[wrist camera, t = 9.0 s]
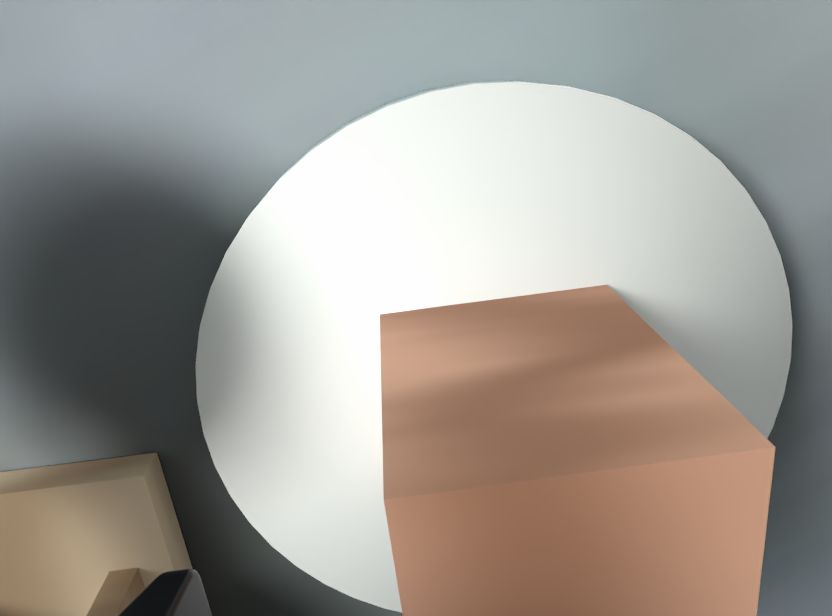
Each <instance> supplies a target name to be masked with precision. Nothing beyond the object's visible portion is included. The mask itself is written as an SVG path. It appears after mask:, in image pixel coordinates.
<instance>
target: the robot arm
mask: <svg viewBox="0 0 832 616" xmlns="http://www.w3.org/2000/svg"><path fill="white" fill-rule="evenodd" d="M118 616H212V614H211V611H210V607H209V604H208V601H207V597H206V594H205V591H204V587H203V584H202V581H201V578H200V575H199V574H198V572H197V571H196V570H194V569H183V570H175V571H167V572H164V573H162V574H160V575H159V576H158V577H156V578H155V579H154V580H153V581H152V582H151V583H150V584H149V585H148V586H147V587H146V588H145V589H144V590H143V591H142V592H141V593H140V594H139V595H138V596H137V597H136V598H135V599H134V600H133V601H132V602H131V603H130V604H129V605H128V606H127V607H126V608H125V609H124V610H123V611H122V612H121V613H120V614H119V615H118Z"/></svg>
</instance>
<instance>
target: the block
mask: <svg viewBox="0 0 832 616" xmlns="http://www.w3.org/2000/svg"><path fill="white" fill-rule="evenodd" d="M380 351H381V398H382V445H383V493H384V505H385V511H386V517H387V523H388V529H389V535H390V541H391V548H392V554H393V560H394V566H395V572H396V578H397V584H398V590H399V596H400V602H401V608H402V614H403V616H757V607H758V598H759V590H760V581H761V572H762V563H763V554H764V545H765V536H766V527H767V518H768V509H769V501H770V492H771V483H772V474H773V465H774V456H775V446H774V445H773V444H772V443H771V442H770V441H769V440H768V439H767V438H765V437H764V436H763V435H762V434H761V433H760V432H759V431H758V430H757V429H756V428H755V427H754V426H753V425H752V424H751V423H750V422H749V421H748V420H747V419H746V418H745V417H744V416H743V415H742V414H741V413H740V412H739V411H738V410H736V409H735V408H734V407H733V406H732V405H731V404H730V403H729V402H728V401H727V400H726V399H725V398H724V397H723V396H722V395H721V394H720V393H719V392H718V391H717V390H716V389H715V388H714V387H713V386H712V385H711V384H710V383H708V382H707V381H706V380H705V379H704V378H703V377H702V376H701V375H700V374H699V373H698V372H697V371H696V370H695V369H694V368H693V367H692V366H691V365H690V364H689V363H688V362H687V361H686V360H685V359H684V358H683V357H682V356H681V355H679V354H678V353H677V352H676V351H675V350H674V349H673V348H672V347H671V346H670V345H669V344H668V343H667V342H666V341H665V340H664V339H663V338H662V337H661V336H660V335H659V334H658V333H657V332H656V331H655V330H654V329H653V328H651V327H650V326H649V325H648V324H647V323H646V322H645V321H644V320H643V319H642V318H641V317H640V316H639V315H638V314H637V313H636V312H635V311H634V310H633V309H632V308H631V307H630V306H629V305H628V304H627V303H626V302H625V301H624V300H622V299H621V298H620V297H619V296H618V295H617V294H616V293H615V292H614V291H613V290H612V289H611V288H610V287H609V286H608V285H601V286H593V287H585V288H578V289H570V290H562V291H555V292H547V293H539V294H532V295H524V296H516V297H508V298H501V299H493V300H485V301H478V302H470V303H462V304H455V305H447V306H439V307H432V308H424V309H416V310H409V311H401V312H393V313H386V314H380Z"/></svg>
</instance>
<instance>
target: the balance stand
mask: <svg viewBox="0 0 832 616" xmlns="http://www.w3.org/2000/svg"><path fill="white" fill-rule="evenodd" d="M183 569H193V568H192V565H191V562H190V558H189V555H188V552H187V549H186V545H185V542H184V539H183V536H182V532H181V529H180V526H179V523H178V519H177V516H176V513H175V510H174V506H173V503H172V500H171V497H170V493H169V490H168V487H167V484H166V480H165V477H164V474H163V471H162V467H161V464H160V461H159V458H158V454H157V452H156V453H149V454H141V455H133V456H125V457H117V458H109V459H101V460H93V461H85V462H77V463H69V464H61V465H53V466H45V467H37V468H29V469H21V470H13V471H5V472H0V616H118V615H119V614H120V613H121V612H122V611H123V610H124V609H125V608H126V607H127V606H128V605H129V604H130V603H131V602H132V601H133V600H134V599H135V598H136V597H137V596H138V595H139V594H140V593H141V592H142V591H143V590H144V589H145V588H146V587H147V586H148V585H149V584H150V583H151V582H152V581H153V580H154V579H155V578H156V577H158V576H159V575H160V574H162V573H164V572H167V571H175V570H183Z"/></svg>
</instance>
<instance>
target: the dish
mask: <svg viewBox="0 0 832 616" xmlns="http://www.w3.org/2000/svg"><path fill="white" fill-rule="evenodd" d="M601 285H608V286H609V287H610V288H611V289H612V290H613V291H614V292H615V293H616V294H617V295H618V296H619V297H620V298H621V299H622V300H624V301H625V302H626V303H627V304H628V305H629V306H630V307H631V308H632V309H633V310H634V311H635V312H636V313H637V314H638V315H639V316H640V317H641V318H642V319H643V320H644V321H645V322H646V323H647V324H648V325H649V326H650V327H651V328H653V329H654V330H655V331H656V332H657V333H658V334H659V335H660V336H661V337H662V338H663V339H664V340H665V341H666V342H667V343H668V344H669V345H670V346H671V347H672V348H673V349H674V350H675V351H676V352H677V353H678V354H679V355H681V356H682V357H683V358H684V359H685V360H686V361H687V362H688V363H689V364H690V365H691V366H692V367H693V368H694V369H695V370H696V371H697V372H698V373H699V374H700V375H701V376H702V377H703V378H704V379H705V380H706V381H707V382H708V383H710V384H711V385H712V386H713V387H714V388H715V389H716V390H717V391H718V392H719V393H720V394H721V395H722V396H723V397H724V398H725V399H726V400H727V401H728V402H729V403H730V404H731V405H732V406H733V407H734V408H735V409H736V410H738V411H739V412H740V413H741V414H742V415H743V416H744V417H745V418H746V419H747V420H748V421H749V422H750V423H751V424H752V425H753V426H754V427H755V428H756V429H757V430H758V431H759V432H760V433H761V434H762V435H763V436H764V437H765V438H767V439H768V436H769V434H770V432H771V430H772V428H773V426H774V423H775V420H776V417H777V414H778V411H779V408H780V405H781V402H782V399H783V396H784V392H785V387H786V382H787V377H788V372H789V367H790V362H791V346H792V327H793V325H792V314H791V303H790V293H789V287H788V283H787V279H786V275H785V271H784V267H783V263H782V259H781V256H780V253H779V251H778V249H777V246H776V244H775V241H774V239H773V237H772V234H771V232H770V230H769V227H768V225H767V223H766V221H765V219H764V218H763V216H762V214H761V213H760V211H759V210H758V208H757V206H756V205H755V203H754V202H753V200H752V198H751V197H750V195H749V194H748V192H747V191H746V189H745V188H744V187H743V186H742V185H741V184H740V182H739V181H738V180H737V179H736V178H735V177H734V176H733V174H732V173H731V172H730V171H729V170H728V169H727V168H726V166H725V165H724V164H723V163H722V162H721V161H720V160H719V159H718V158H717V157H715V156H714V155H713V154H712V153H711V152H709V151H708V150H707V149H706V148H705V147H703V146H702V145H701V144H700V143H699V142H697V141H696V140H695V139H694V138H693V137H691V136H690V135H689V134H687V133H685V132H684V131H682V130H680V129H679V128H677V127H675V126H674V125H672V124H670V123H669V122H667V121H665V120H664V119H662V118H660V117H659V116H657V115H655V114H653V113H651V112H648V111H646V110H644V109H641V108H639V107H636V106H634V105H631V104H629V103H626V102H624V101H621V100H619V99H616V98H614V97H610V96H606V95H602V94H598V93H594V92H589V91H585V90H581V89H577V88H573V87H568V86H560V85H553V84H544V83H533V82H523V81H512V80H505V81H483V82H466V83H461V84H456V85H450V86H445V87H440V88H434V89H429V90H425V91H422V92H419V93H416V94H413V95H410V96H407V97H404V98H401V99H398V100H395V101H392V102H389V103H386V104H384V105H382V106H380V107H378V108H376V109H374V110H372V111H370V112H368V113H366V114H364V115H362V116H360V117H358V118H356V119H354V120H352V121H350V122H348V123H347V124H345V125H344V126H342V127H341V128H339V129H338V130H336V131H335V132H333V133H332V134H330V135H329V136H328V137H326V138H325V139H323V140H322V141H320V142H319V143H317V144H316V145H314V146H313V147H312V148H311V149H310V150H309V151H308V152H307V153H306V154H304V155H303V156H302V157H301V158H300V159H299V160H298V161H297V162H296V163H294V164H293V165H292V166H291V167H290V168H289V169H288V170H287V171H286V172H285V173H284V174H283V175H282V176H281V177H280V179H279V180H278V181H277V182H276V183H275V185H274V186H273V187H272V188H271V189H270V191H269V192H268V193H267V194H266V195H265V197H264V198H263V199H262V200H261V201H260V203H259V204H258V205H257V206H256V208H255V209H254V210H253V211H252V213H251V214H250V215H249V216H248V217H247V219H246V221H245V222H244V224H243V226H242V227H241V229H240V230H239V232H238V234H237V235H236V237H235V238H234V240H233V242H232V243H231V245H230V247H229V248H228V250H227V251H226V253H225V255H224V258H223V260H222V262H221V265H220V267H219V269H218V271H217V274H216V276H215V278H214V281H213V283H212V285H211V288H210V290H209V294H208V298H207V301H206V305H205V309H204V313H203V316H202V320H201V324H200V328H199V337H198V346H197V355H196V389H197V403H198V408H199V413H200V418H201V424H202V429H203V434H204V437H205V440H206V443H207V445H208V448H209V451H210V454H211V457H212V460H213V462H214V465H215V468H216V469H217V471H218V473H219V475H220V477H221V479H222V481H223V483H224V485H225V487H226V489H227V490H228V492H229V494H230V496H231V497H232V499H233V500H234V502H235V503H236V504H237V506H238V507H239V509H240V510H241V511H242V513H243V514H244V516H245V517H246V518H247V520H248V521H249V523H250V524H251V525H252V526H253V527H254V528H255V529H256V530H257V531H258V532H259V533H260V534H261V535H262V536H263V537H264V538H265V539H266V541H267V542H268V543H269V544H270V545H271V546H272V547H273V548H275V549H276V550H277V551H278V552H280V553H281V554H282V555H283V556H284V557H286V558H287V559H288V560H289V561H291V562H292V563H293V564H294V565H296V566H297V567H298V568H300V569H301V570H303V571H305V572H306V573H308V574H309V575H311V576H313V577H314V578H316V579H317V580H319V581H320V582H322V583H324V584H326V585H328V586H330V587H332V588H334V589H336V590H338V591H340V592H342V593H344V594H347V595H349V596H351V597H353V598H355V599H358V600H361V601H364V602H367V603H370V604H373V605H376V606H379V607H382V608H385V609H389V610H393V611H398V612H402V608H401V602H400V596H399V590H398V584H397V578H396V572H395V566H394V560H393V554H392V548H391V541H390V535H389V529H388V523H387V517H386V511H385V505H384V493H383V445H382V398H381V351H380V314H386V313H393V312H401V311H409V310H416V309H424V308H432V307H439V306H447V305H455V304H462V303H470V302H478V301H485V300H493V299H501V298H508V297H516V296H524V295H532V294H539V293H547V292H555V291H562V290H570V289H578V288H585V287H593V286H601Z"/></svg>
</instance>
